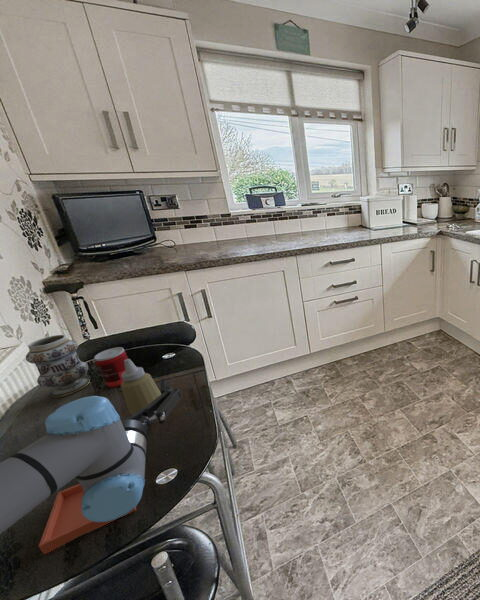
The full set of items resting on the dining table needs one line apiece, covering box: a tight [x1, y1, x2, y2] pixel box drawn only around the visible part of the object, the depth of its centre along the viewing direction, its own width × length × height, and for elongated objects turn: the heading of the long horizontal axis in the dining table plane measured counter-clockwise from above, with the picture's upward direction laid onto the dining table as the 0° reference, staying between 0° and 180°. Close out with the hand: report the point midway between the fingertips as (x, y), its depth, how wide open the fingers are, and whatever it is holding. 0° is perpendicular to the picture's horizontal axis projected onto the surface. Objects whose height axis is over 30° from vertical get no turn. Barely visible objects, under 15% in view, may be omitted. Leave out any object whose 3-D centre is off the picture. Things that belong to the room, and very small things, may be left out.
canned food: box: [93, 346, 129, 389], centre depth 108 cm, size 8×8×11 cm
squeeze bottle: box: [120, 358, 161, 415], centre depth 89 cm, size 8×8×18 cm
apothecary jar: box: [25, 334, 91, 398], centre depth 106 cm, size 12×12×18 cm
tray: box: [38, 483, 138, 555], centre depth 66 cm, size 13×13×2 cm
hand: (131, 394), depth 80 cm, fingers open, 13 cm apart
